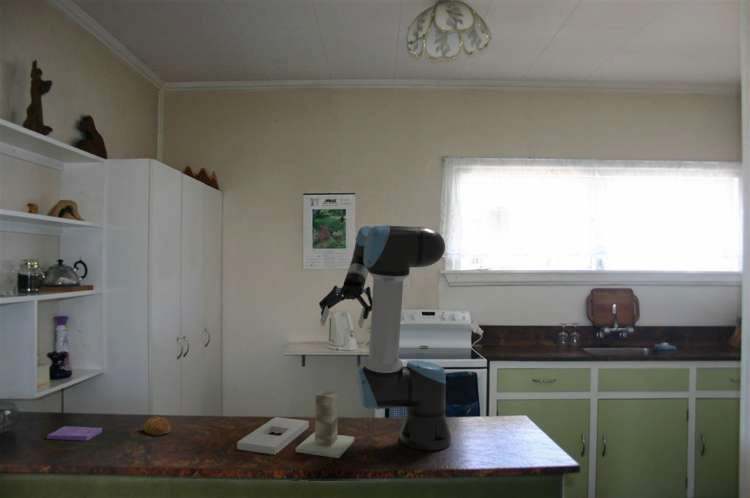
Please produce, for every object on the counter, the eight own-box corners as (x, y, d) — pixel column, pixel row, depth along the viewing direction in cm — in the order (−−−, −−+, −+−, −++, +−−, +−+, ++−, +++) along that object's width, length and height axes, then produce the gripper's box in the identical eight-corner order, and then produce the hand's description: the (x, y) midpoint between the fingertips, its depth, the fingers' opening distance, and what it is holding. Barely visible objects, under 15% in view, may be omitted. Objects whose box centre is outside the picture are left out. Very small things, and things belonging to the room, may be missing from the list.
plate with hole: (308, 427, 144) (308, 421, 144) (275, 454, 122) (275, 447, 123) (275, 423, 147) (275, 417, 147) (237, 449, 126) (237, 441, 126)
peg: (337, 440, 131) (338, 392, 131) (331, 446, 126) (332, 396, 127) (321, 438, 132) (322, 390, 133) (314, 444, 127) (315, 395, 128)
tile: (354, 440, 133) (354, 436, 133) (338, 458, 121) (338, 454, 121) (314, 435, 137) (314, 431, 137) (295, 451, 125) (295, 448, 125)
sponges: (86, 442, 130) (87, 436, 130) (46, 440, 131) (46, 434, 131) (102, 433, 137) (103, 427, 137) (64, 431, 138) (64, 425, 138)
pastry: (176, 432, 138) (176, 420, 138) (154, 439, 133) (154, 426, 133) (162, 425, 144) (162, 413, 144) (140, 431, 139) (141, 419, 139)
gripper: (390, 286, 163) (378, 333, 148) (327, 284, 170) (309, 329, 155) (386, 272, 158) (374, 319, 143) (322, 271, 165) (303, 315, 150)
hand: (340, 324), depth 149 cm, fingers open, 13 cm apart
